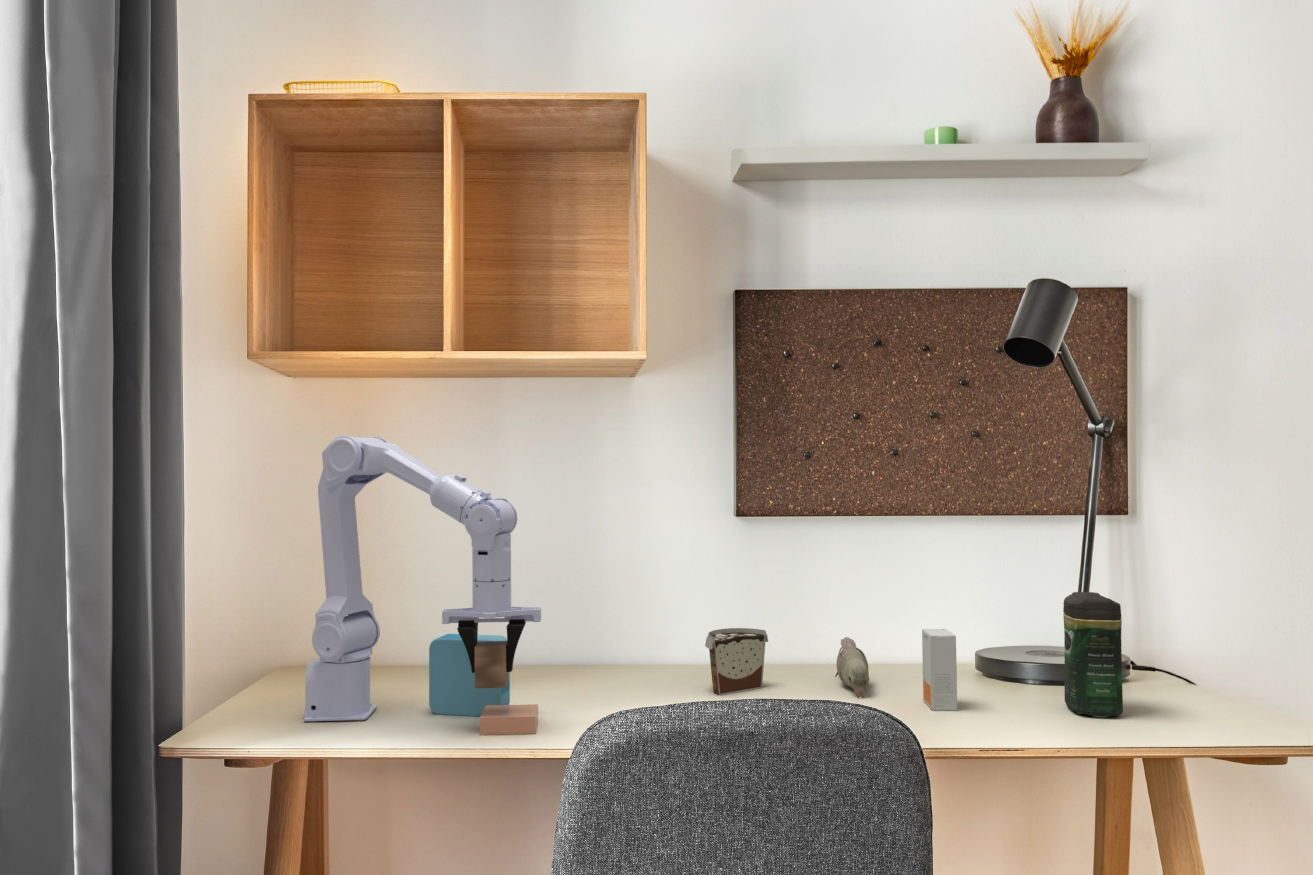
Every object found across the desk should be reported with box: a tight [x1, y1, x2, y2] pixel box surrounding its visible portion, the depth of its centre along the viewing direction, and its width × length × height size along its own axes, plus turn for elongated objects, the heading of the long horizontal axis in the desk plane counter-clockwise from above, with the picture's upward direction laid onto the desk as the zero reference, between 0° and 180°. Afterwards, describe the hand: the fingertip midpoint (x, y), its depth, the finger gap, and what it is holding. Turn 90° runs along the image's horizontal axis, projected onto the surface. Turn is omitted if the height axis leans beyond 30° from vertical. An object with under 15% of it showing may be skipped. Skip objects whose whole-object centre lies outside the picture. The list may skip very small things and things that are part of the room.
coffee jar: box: [1062, 591, 1124, 718], centre depth 147 cm, size 10×8×19 cm
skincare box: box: [921, 628, 958, 712], centre depth 151 cm, size 6×4×12 cm
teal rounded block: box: [428, 633, 511, 718], centre depth 148 cm, size 12×4×12 cm, turn 79°
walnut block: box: [475, 641, 509, 688], centre depth 139 cm, size 4×4×6 cm
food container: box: [704, 627, 769, 696], centre depth 163 cm, size 12×6×10 cm, turn 122°
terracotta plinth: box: [479, 703, 539, 736], centre depth 139 cm, size 8×7×2 cm
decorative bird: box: [834, 636, 870, 698], centre depth 163 cm, size 5×16×8 cm, turn 177°
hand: (492, 670), depth 139 cm, fingers closed on walnut block, 4 cm apart
